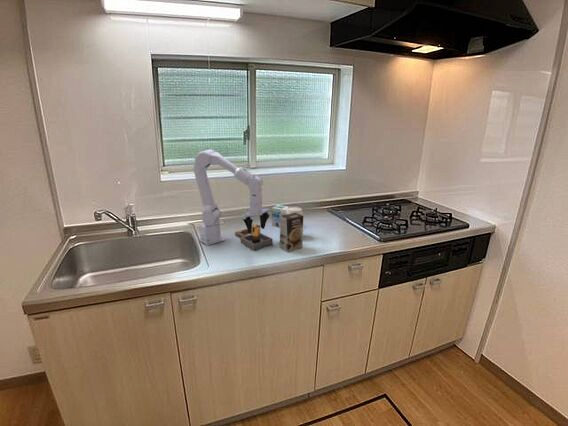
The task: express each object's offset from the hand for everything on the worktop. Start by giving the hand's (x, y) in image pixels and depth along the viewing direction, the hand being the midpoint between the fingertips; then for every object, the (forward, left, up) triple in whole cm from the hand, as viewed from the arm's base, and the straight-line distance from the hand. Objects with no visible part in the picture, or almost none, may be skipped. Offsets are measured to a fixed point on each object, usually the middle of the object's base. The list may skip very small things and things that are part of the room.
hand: (256, 230), depth 151 cm
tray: (0, 0, -7) cm, 7 cm away
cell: (0, 0, -7) cm, 7 cm away
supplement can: (+20, -5, -7) cm, 22 cm away
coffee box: (+10, -14, -7) cm, 19 cm away
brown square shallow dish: (+2, +11, -7) cm, 13 cm away
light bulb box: (+26, +11, -8) cm, 29 cm away
